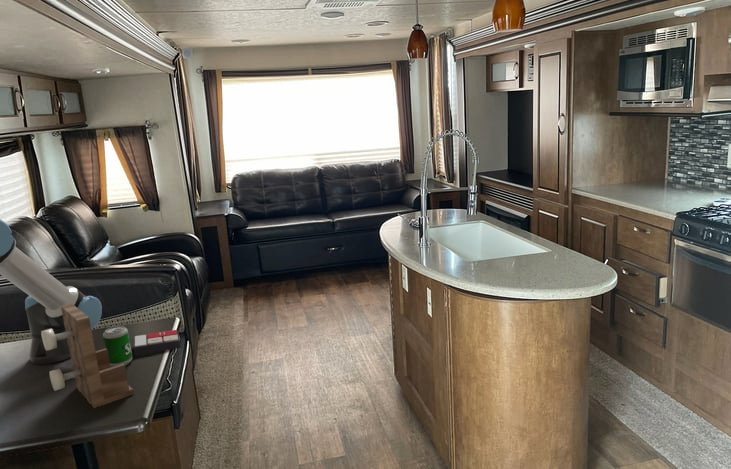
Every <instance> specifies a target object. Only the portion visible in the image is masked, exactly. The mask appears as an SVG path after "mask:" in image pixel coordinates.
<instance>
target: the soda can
mask: <svg viewBox="0 0 731 469" xmlns="http://www.w3.org/2000/svg"><path fill="white" fill-rule="evenodd" d="M102 337H103V344H104V349H105V348H106V349H107V350H108V356H109V361H110V367H114V366H117V365H120V364H125V366H127V365H129V364H130V363H131V361H132V360H133V352H132V348H131V342H130V334H129V329H128V328H126V327H125V326H122V325H117V326H116V325H114V326H111V327H108V328H107V329H105V331H104V332H103V334H102Z"/></svg>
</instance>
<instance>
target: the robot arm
mask: <svg viewBox="0 0 731 469" xmlns="http://www.w3.org/2000/svg"><path fill="white" fill-rule="evenodd" d="M12 233H13V231H12V230H11V228H10V226H9V225H8V224H7V222H5V221H4V220H2V219H0V276H1V277H3V278H4V279H6V280H7V281H8V282H10V283H12V284H13V285H14V286H16V287H17V288H18V289H20V291H23V293H25V294H26V295H28V296H27V297H26V298H25V300H24V305H25V306H24V307H25V308H24V309H25V311H26V312H25V313H26V316H27V321H28V325H29V330H30V331H29V332H30V335H31V343H30V344H31V345H30V349H29V359H30V363H31V364H33V365H48V364H54V363H57V362H59V363H60V362H61V361H64V360H68V359H71V356H70V351H69V346H68V341H67V338H65V339H62V340H58V341H56V342H57V348H55V349H51V350H48V351H46V349H45V347H44V344H43V340H42V335H41V331H44V330H48V329H53V331H54V334H59V333H63V332H66V330H65V325H64V320H63V315H62V310H61V306H64V305H68V304H73V305H74V306H76V307H77V308H78V309H79V310H81V311H82V312H83V313H84V314H86V315H87V316H88V317H89V320H90V325H91V331H92V330H93V329H94V328H96V327H97V326H98V324H99V322H100V321H101V317H102V314H103V311H102V310H103V306H102V303H101V301H100V299H99V298H98V297H95V296H92V295H85V294H83V293H82V292H81V291H80V290H79V289H78V288H76V287H74V286H71V285H68V286H66V285H65V284H63V283H62V282H60V281H59V280H58V279H57V278H55V277H54V276H53V275H52V274H50V272H48V271H47V270H45V269H44V268H43V267H42V266H41V265H39V263H37V262H35V261H34V260H33V259H32V258H31V257H29V256H28V255H27V254H25V253H24V252H23V251H22V250H20V249H19V248H18V247H17V246H16V245H17V241H16V239H15V238H14V236H13V235H12Z"/></svg>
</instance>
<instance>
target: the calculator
mask: <svg viewBox="0 0 731 469" xmlns="http://www.w3.org/2000/svg"><path fill="white" fill-rule="evenodd" d="M132 348H133V355H134V356H133V357H135V358H136V357H141V356H147V355H149V354H155V353H161V352H165V351H171V350H176V349H179V348H181V339H180V333H179V331H178V330H177V329H172V330H165V331H157V332H151V333H150V332H149V333H147V334H141V335H135V336H134V337H133V347H132Z"/></svg>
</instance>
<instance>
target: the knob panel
mask: <svg viewBox="0 0 731 469" xmlns="http://www.w3.org/2000/svg"><path fill="white" fill-rule="evenodd" d="M61 310H62V315H63V320H64V325H65V330H66V331H70V330H73V332H74V336H72V337H69V338H67V341H68V346H69V351H70V356H71V357H70V360H71V364H72V371H75V370H79V369H81V374H82V375H80V376H77V377H74V381H75V386H76V389H77V390H78V391H79V393H80V392H81V393H82V394H81V393H80V394H81V395H82V397H84V398H86V399H87V400H86V399H85V400H86V401H87V402H88V403H89V405H90V404H91V405H92V406H91V405H90V406H91V407H92V408H93V409H96V407H97V408H99V407H102V406H105V405H108V404H111V403H112V402H113V403H114V402H115V401H118V400H121V399H124V398H126V397H127V398H128V397H129V396H132V395H134V389H133V387H131V386H130V385H129V381H128V380H129V379H128V374H127V369H126V365H125V364H120V365H117V366H114V367H112V366H111V365H110V361H109V356H108V350H107V349H106V348H105V347H104V348H103V349H100V350H96V347H95V342H94V338H93V331H92V330H91V325H90V320H89V317H88V316H87V315H86V314H84V313H83V312H82V311H81V310H79V309H78V308H77V307H76V306H74V305H73V304H68V305H64V306H61ZM101 405H102V406H101ZM98 406H99V407H98Z"/></svg>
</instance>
